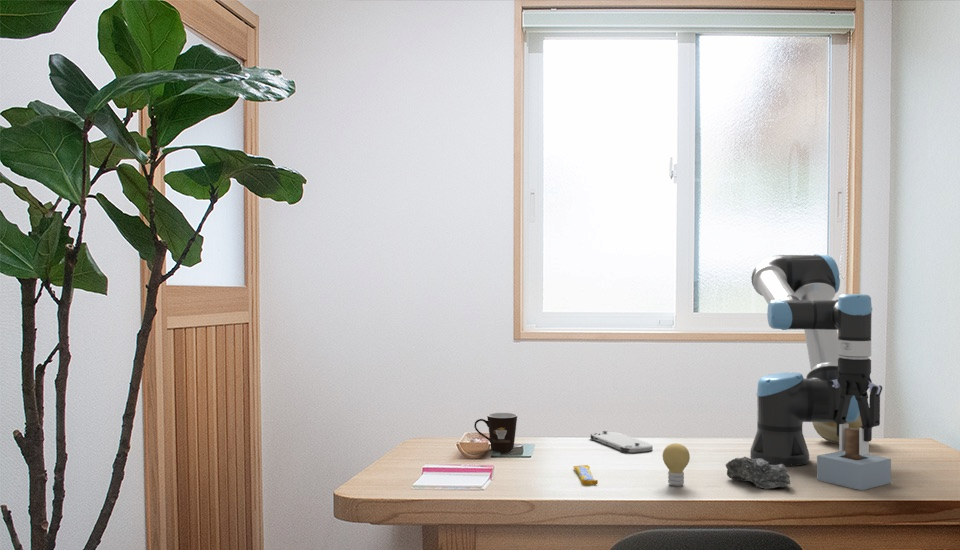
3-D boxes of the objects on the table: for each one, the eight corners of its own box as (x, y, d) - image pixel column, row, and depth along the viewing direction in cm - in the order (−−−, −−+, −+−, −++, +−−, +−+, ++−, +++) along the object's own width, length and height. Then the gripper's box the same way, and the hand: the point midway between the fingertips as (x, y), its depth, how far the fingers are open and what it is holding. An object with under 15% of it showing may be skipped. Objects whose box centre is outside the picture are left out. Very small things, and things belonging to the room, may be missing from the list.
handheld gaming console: (657, 443, 252) (626, 446, 248) (657, 452, 252) (626, 455, 248) (616, 428, 273) (587, 431, 270) (616, 437, 274) (587, 440, 270)
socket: (861, 490, 209) (861, 464, 209) (817, 479, 219) (817, 455, 219) (890, 483, 216) (890, 458, 216) (846, 473, 226) (846, 449, 226)
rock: (722, 473, 222) (724, 443, 217) (771, 464, 224) (775, 434, 218) (743, 511, 211) (746, 480, 206) (795, 501, 213) (799, 470, 207)
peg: (845, 479, 217) (844, 430, 217) (845, 475, 220) (845, 427, 220) (861, 480, 215) (861, 431, 215) (861, 477, 219) (861, 428, 218)
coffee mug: (522, 449, 255) (522, 414, 255) (507, 454, 248) (507, 419, 248) (488, 444, 261) (488, 410, 261) (472, 449, 254) (472, 415, 254)
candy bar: (598, 487, 214) (598, 479, 214) (581, 487, 214) (581, 480, 214) (589, 470, 231) (589, 463, 231) (573, 471, 231) (573, 463, 231)
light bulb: (684, 489, 210) (684, 447, 210) (658, 486, 214) (658, 444, 213) (693, 483, 216) (693, 442, 215) (667, 480, 219) (668, 439, 219)
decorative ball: (806, 437, 271) (806, 388, 271) (857, 438, 269) (858, 389, 269) (818, 447, 256) (818, 396, 256) (872, 449, 254) (873, 397, 254)
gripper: (813, 355, 222) (812, 447, 223) (879, 361, 208) (878, 461, 208) (831, 353, 227) (831, 444, 227) (897, 359, 212) (896, 457, 212)
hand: (853, 452), depth 217 cm, fingers open, 5 cm apart
